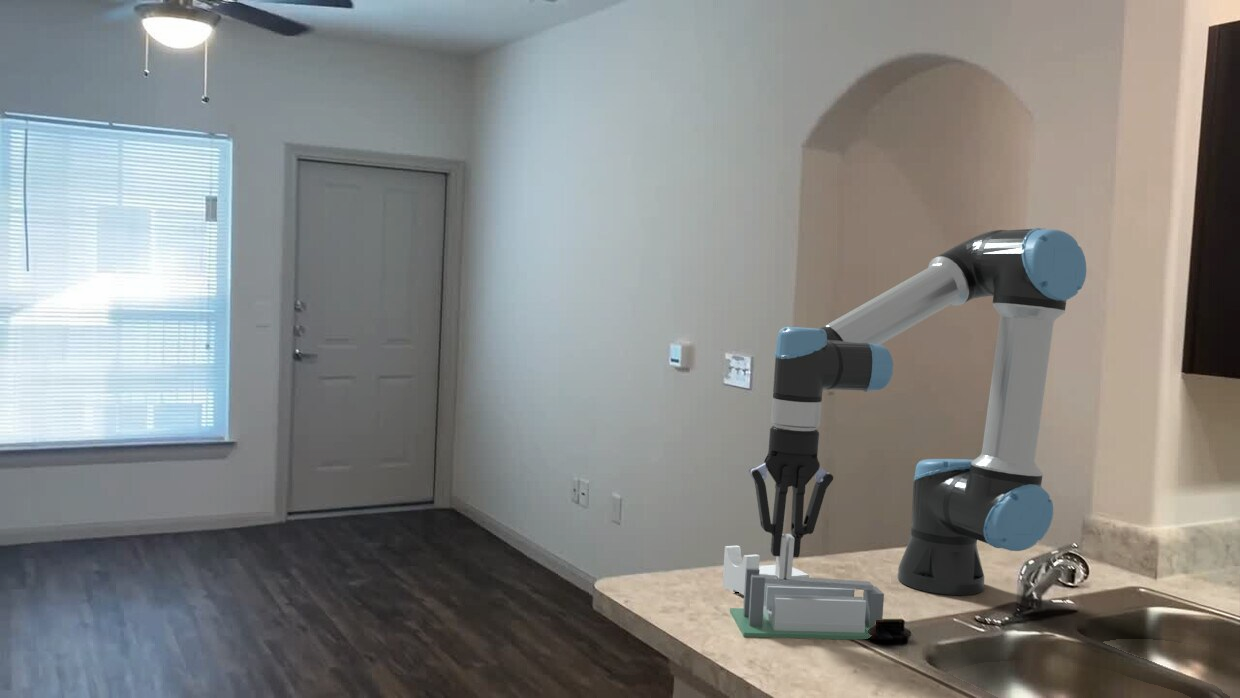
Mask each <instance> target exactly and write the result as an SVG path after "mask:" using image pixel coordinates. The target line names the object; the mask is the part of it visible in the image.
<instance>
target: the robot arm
mask: <svg viewBox="0 0 1240 698" xmlns="http://www.w3.org/2000/svg"><path fill="white" fill-rule="evenodd" d="M1086 261H1087V260H1086V257H1085V253H1084V251H1083V248H1082V247H1081V246H1079V243H1078V241H1077V240H1076V238H1075V237H1073V236H1072V235H1071V234H1070V233H1068V232H1065V231H1063V230H1060V229H1053V228H1052V229H1050V228H1040V227H1037V228H1025V229H1023V228H1022V229H1000V230H995V229H994V230H991V231H987V232H984V233H981V234H978V235H976V236H973V237H971V238H969V239H967V240H965V241H963V242H961V243H959V244H957V245H955V246H953V247H952V248H950V249H948V250H946V251H944V252H943V253H941V254H939V255H937V256H935V257H934V258H932V259H931V260H930V262H929V264H928V265H927V266H928V267H927V268H926V269H924V270H921V271H920V272H918V273H917V274H915V275H913V276H911V277H910V278H908V279H906V280H905V281H902V282H900V283H898V284H897V285H895V286H894V287H892V288H890V289H888V290H886V291H885V292H882V293H881V294H879V295H878V296H876V297H873V298H872V299H870V300H869V301H867V302H864V303H863V304H861V305H860V306H858V307H855V308H854V309H852V310H850V311H849V312H847V313H846V314H843V315H842V316H840V317H838V318H836V319H834V320H833V321H831V322H829V323H828V324H826V325H824V326H821V327H820V328H815V327H801V326H784V327H782V328H781V329H779V332H778V335H777V339H776V347H775V352H774V373H773V388H772V389H773V390H772V392H773V393H772V402H771V403H772V404H771V414H770V416H771V417H770V422H771V423H772V424H774V425H772V426H771V427H770V428H769V439H768V440H769V441H768V451H767V456H766V457H765V458H764V463H762V464H759V466H756V467H751V468H750V469H749V471H748V472H749V474H750V476H751V479H753V481H754V487H755V494H756V501H757V508H758V515H759V522H760V523H759V524H760V527H761V528H762V529H763V530H764V531H765V532H766V533H769V534H771V542H770V553H771V555H772V556H773V557H775V565H776V570H775V575H776V576H777V577H778V578H779V579H784V577H785V578H786V579H791V578H792V567H793V563H794V562H793V561H794V558H799V557H800V552H801V540H802V538H803V537H804V536H805V535H811V534H813V533H814V531H815V529H816V524H817V521H818V517H819V515H820V511H821V508H822V505H823V500H824V497H825V493H826V491H827V489H828V487H829V486H830V484H831V483H832V482H833V480H834V476H833V474H831V473H830V472H828V471H825V470H824V469H823V468H822V467H821V466H820V461H819V458H818V453H819V439H820V432H819V430H818V429H817V428H819V427H820V425H821V416H822V415H821V414H822V413H821V412H822V400H823V392H824V390H826V391H827V390H828V391H829V390H837V391H862V392H863V391H864V392H865V393H866V392H869V391H871V392H872V391H881V390H883V389H884V388H886V387H887V386H888V385H889V384H890V381H891V379H892V378H893V371H894V368H893V367H894V361H893V356H892V355H891V352H890V350H889V349H888V348H887V347H886V346H884V345H882V344H883V343H886V342H887V341H888V340H890V339H892V338H894V337H896V336H897V335H900V334H901V333H903V332H905V331H906V330H908V329H910V328H912V327H913V326H915V325H917V324H919V323H921V322H922V321H924V320H925V319H928V317H931V316H932V315H935V314H936V313H938V312H939V311H941V310H943V309H945V308H946V307H948V306H950V305H951V306H953V307H958V306H959V307H960V306H961V305H963V304H965V303H967V302H969V301H971V300H973V299H978V298H984V297H986V298H987V297H992V306H993V308H994V309H995V310H996V312H997V313H998V315H999V322H998V329H997V337H996V338H997V339H996V344H995V345H996V346H995V351H994V352H995V353H994V360H993V366H992V374H991V381H990V389H989V397H988V404H987V412H986V418H985V424H984V425H985V426H984V434H983V440H982V441H983V442H982V447H981V448H982V449H981V454H980V455H979V456H977V457H976V458H975V459H966V458H959V459H958V458H928V459H927V458H926V459H921V460H920V461H918V463H917V464H916V466H915V472H914V477H913V481H912V482H913V488H912V491H913V492H912V508H911V525H910V538H909V541H908V543H907V546H906V548H905V550H904V553H903V556H902V557H901V560H900V562H899V564H898V573H897V580H898V581H899V582H900V583H901V584H904V585H905V586H908V587H910V588H913V589H916V590H919V591H923V592H928V593H931V594H932V593H933V594H934V593H935V594H939V595H952V596H969V595H970V596H971V595H976V594H979V593H982V592H983V591H984V590H985V575H984V569H983V567H982V562H981V559H980V554H979V551H978V544H977V543H978V542H983V543H985V544H988V545H989V546H991V547H993V548H996V549H1003V550H1007V551H1010V552H1023V551H1025V550H1028V549H1030V548H1033V547H1034V546H1036V544H1037V542H1038V541H1041V540H1043V538H1044V537H1045V535H1046V534H1047V532H1048V531H1049V528H1050V527H1051V524H1052V521H1053V516H1054V503H1053V500H1052V499H1051V497H1050V494H1049V492H1048V491H1046V490H1045V489H1044V488H1043V487H1042V481H1043V476H1044V475H1043V471H1042V470H1041V469H1040V468H1039V466H1038V465H1037V464H1036V463H1037V462H1036V454H1037V447H1038V439H1039V432H1040V431H1039V430H1040V425H1041V418H1042V413H1043V412H1042V410H1043V404H1044V396H1045V391H1046V390H1045V387H1046V382H1047V376H1048V375H1047V373H1048V366H1049V359H1050V352H1051V346H1052V345H1051V344H1052V337H1053V329H1054V323H1055V321H1056V320H1057V319H1058V318H1060V317H1061V316H1063V314H1065V313H1066V307H1067V301H1068V300H1070V299H1072V298H1073V297H1075V296H1077V295H1078V293H1079V290H1082V288H1083V286H1084V284H1085V281H1086V277H1087V262H1086ZM767 471H768V473H769V475H770V476H771V478H772V479H773V481H774V483H775V484H774V485H775V486H774V488H775V492H774V493H775V494H774V503H773V512H772V513H773V514H772V522H771V515H770V507H769V500H768V492H767V486H766V482H765V480H766V479H767ZM814 476H815V477H814ZM813 477H814V480H815V483H814V486H813V489H812V492H811V497H810V500H809V503H808V507H807V509H806V512H805V516H804V504H805V503H804V502H805V494H806V486H807V484H809V482H810V481H811V480H812V478H813ZM789 487H792V502H791V519H790V520H791V523H790V532H791V533H785V534H784V533H783V531H784V524H785V523H784V522H785V514H786V503H787V496H788V492H789Z"/></svg>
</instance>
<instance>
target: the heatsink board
mask: <svg viewBox="0 0 1240 698" xmlns="http://www.w3.org/2000/svg"><path fill="white" fill-rule="evenodd" d="M759 571H760V570H759V568H746V573H745V590H744V595H743V607H741V608H740V607H737V608H736V607H730V608H729V613H730V615H731V616H732V618H733V620H734V622H735V624H736V626H737V627H738V629H739V631H740V632H741V635H742V636H743V637H744V638H777V639H779V638H781V639H783V638H784V639H815V640H816V639H817V640H819V639H823V640H852V639H868V638H870V637H871V636H872V635H870V634H869V633H868V630H869V629H870V628H872V627H874V625H875V621H876V620H882V621H883V616H884V615H883V613H884V602H885V601H884V600H885V598H884V597H885V593H884V592H882V590H881V589H880V588H878V586H874V585H873V591H872V590H862V592H863V594H862V596H855V589H841V588H826V587H810V586H795V585H780V584H765V577H764V576H753V575H751V574H759ZM750 578H751V579H750Z"/></svg>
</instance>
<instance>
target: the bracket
mask: <svg viewBox="0 0 1240 698" xmlns="http://www.w3.org/2000/svg"><path fill="white" fill-rule="evenodd" d="M760 559H761V558H760V555H759V554H747V555H746V554H744V555H743V556H742V552H741V546H739V545H726V546H724V557H723V571H722V572H723V573H722V574H723V575H722V587H725V588H727V589H729V590H730V591H733V592H739V593H738V594H741V595H742V596H744V590H745V573H746V568H759V570H760V571H759V574H762V575H775V570H776V564H771V565H770V564H769V565H767V564H766V565H760ZM792 576H793V577H808V578H810V574H808V573H806V572H804V571H803V570H800V569H798V568H795V567H793V566H792ZM730 591H729V592H730Z"/></svg>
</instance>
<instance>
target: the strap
mask: <svg viewBox="0 0 1240 698" xmlns="http://www.w3.org/2000/svg"><path fill="white" fill-rule="evenodd" d="M751 575H753V576H764V577H765V584H780V585H795V586H810V587H826V588H841V589H854V590H856V591H857V590H858V591H859V590H860V591H861V590H862V591H864V590H872V591H873V586H874V585H873V583H871V582H870V581H867V580H850V579H838V578H836V579H835V578H824V577H823V578H821V577H809V578H808V577H793V576H792V578H791V579H786V578H785V577H784V579H779V578H778V577H777V576H776V575H762V574H751ZM750 579H751V578H750Z"/></svg>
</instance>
